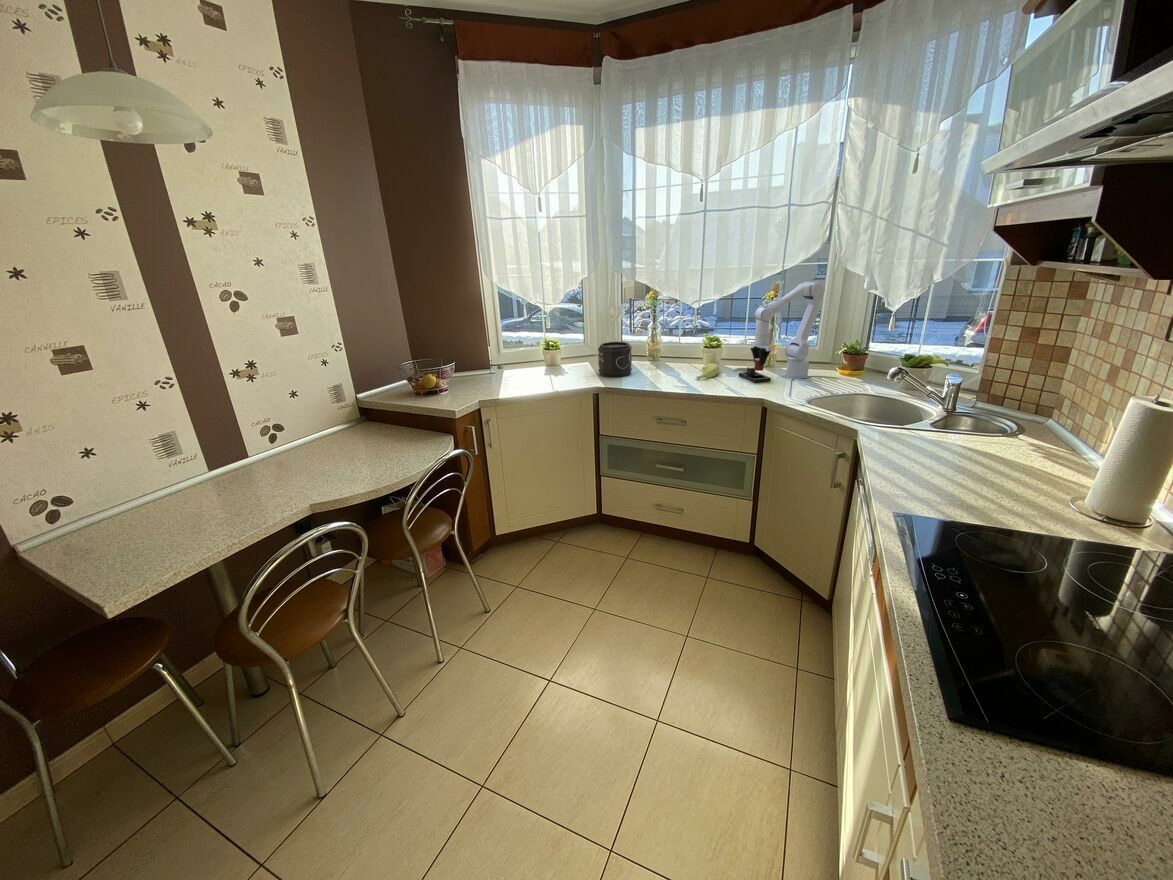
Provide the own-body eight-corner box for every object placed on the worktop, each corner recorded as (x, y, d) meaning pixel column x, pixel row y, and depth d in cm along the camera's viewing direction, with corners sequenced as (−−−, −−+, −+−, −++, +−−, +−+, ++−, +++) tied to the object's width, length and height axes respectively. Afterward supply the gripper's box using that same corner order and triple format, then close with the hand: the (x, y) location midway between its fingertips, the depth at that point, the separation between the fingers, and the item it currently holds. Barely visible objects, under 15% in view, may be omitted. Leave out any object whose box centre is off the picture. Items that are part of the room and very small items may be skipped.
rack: (738, 377, 236) (738, 372, 235) (753, 375, 237) (754, 371, 236) (754, 384, 222) (754, 379, 221) (770, 382, 223) (771, 377, 222)
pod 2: (760, 368, 227) (761, 357, 225) (765, 370, 223) (766, 359, 221) (752, 369, 226) (752, 358, 224) (757, 371, 222) (757, 360, 220)
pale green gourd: (725, 359, 241) (705, 371, 229) (728, 369, 243) (708, 382, 230) (702, 362, 251) (681, 375, 239) (705, 372, 253) (684, 385, 240)
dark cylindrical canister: (638, 371, 257) (638, 342, 251) (622, 379, 243) (622, 348, 237) (609, 368, 266) (608, 340, 260) (592, 375, 252) (591, 346, 246)
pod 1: (752, 375, 235) (753, 365, 233) (757, 377, 231) (757, 367, 229) (744, 376, 234) (744, 366, 232) (748, 378, 230) (749, 368, 228)
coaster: (746, 368, 252) (746, 367, 252) (754, 371, 244) (754, 370, 244) (731, 369, 250) (731, 368, 250) (739, 373, 243) (739, 372, 242)
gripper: (745, 333, 224) (743, 361, 229) (762, 337, 211) (759, 367, 216) (759, 331, 226) (756, 360, 231) (776, 336, 212) (773, 366, 217)
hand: (759, 363), depth 223 cm, fingers closed on pod 2, 4 cm apart
